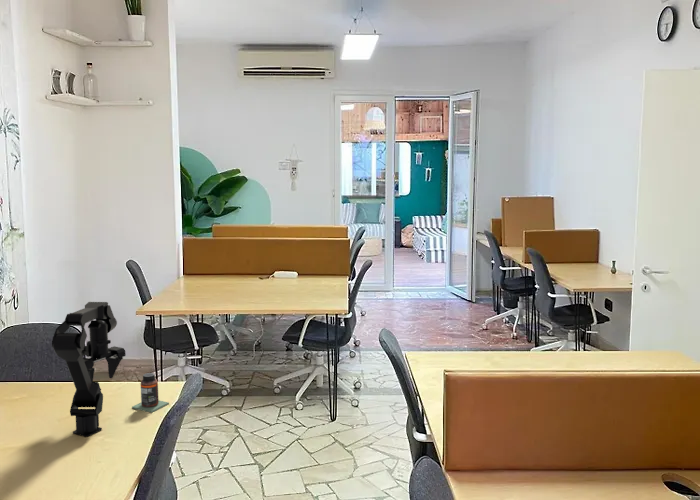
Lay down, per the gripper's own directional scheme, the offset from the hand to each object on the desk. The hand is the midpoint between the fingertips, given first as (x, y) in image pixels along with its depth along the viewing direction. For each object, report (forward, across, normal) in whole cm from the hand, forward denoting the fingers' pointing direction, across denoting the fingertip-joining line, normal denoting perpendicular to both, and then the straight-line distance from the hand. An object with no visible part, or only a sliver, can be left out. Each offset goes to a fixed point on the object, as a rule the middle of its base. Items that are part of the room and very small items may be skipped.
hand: (100, 382), depth 219 cm
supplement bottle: (+12, -14, +9) cm, 20 cm away
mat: (+12, -14, +9) cm, 21 cm away
